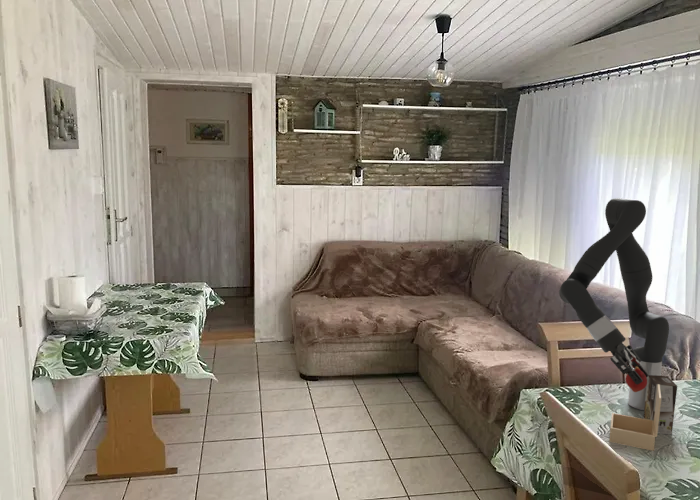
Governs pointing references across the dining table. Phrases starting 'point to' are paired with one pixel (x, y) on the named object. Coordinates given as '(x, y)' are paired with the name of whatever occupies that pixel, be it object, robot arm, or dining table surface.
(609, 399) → the dining table surface
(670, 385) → the coffee box
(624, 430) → the box
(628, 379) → the onion
